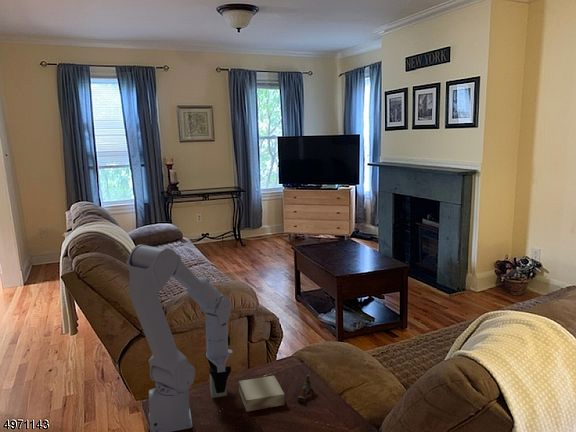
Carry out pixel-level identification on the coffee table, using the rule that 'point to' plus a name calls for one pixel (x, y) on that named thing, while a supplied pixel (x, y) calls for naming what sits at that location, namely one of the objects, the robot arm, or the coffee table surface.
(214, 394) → the sage block
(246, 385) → the beige flat square block
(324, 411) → the coffee table surface
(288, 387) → the coffee table surface
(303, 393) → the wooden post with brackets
